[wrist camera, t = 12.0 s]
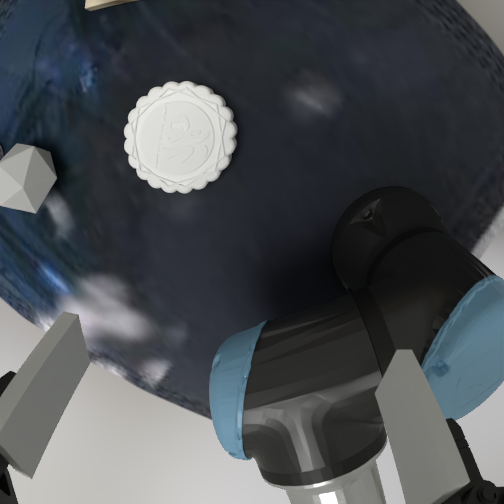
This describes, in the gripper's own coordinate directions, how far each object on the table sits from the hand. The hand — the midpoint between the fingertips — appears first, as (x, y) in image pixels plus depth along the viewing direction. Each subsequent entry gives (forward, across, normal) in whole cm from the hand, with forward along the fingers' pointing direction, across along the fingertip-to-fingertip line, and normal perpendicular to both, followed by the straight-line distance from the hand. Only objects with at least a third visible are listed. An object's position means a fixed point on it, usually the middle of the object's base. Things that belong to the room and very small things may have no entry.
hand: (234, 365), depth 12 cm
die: (+26, +28, -2) cm, 38 cm away
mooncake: (+26, +8, -6) cm, 28 cm away
